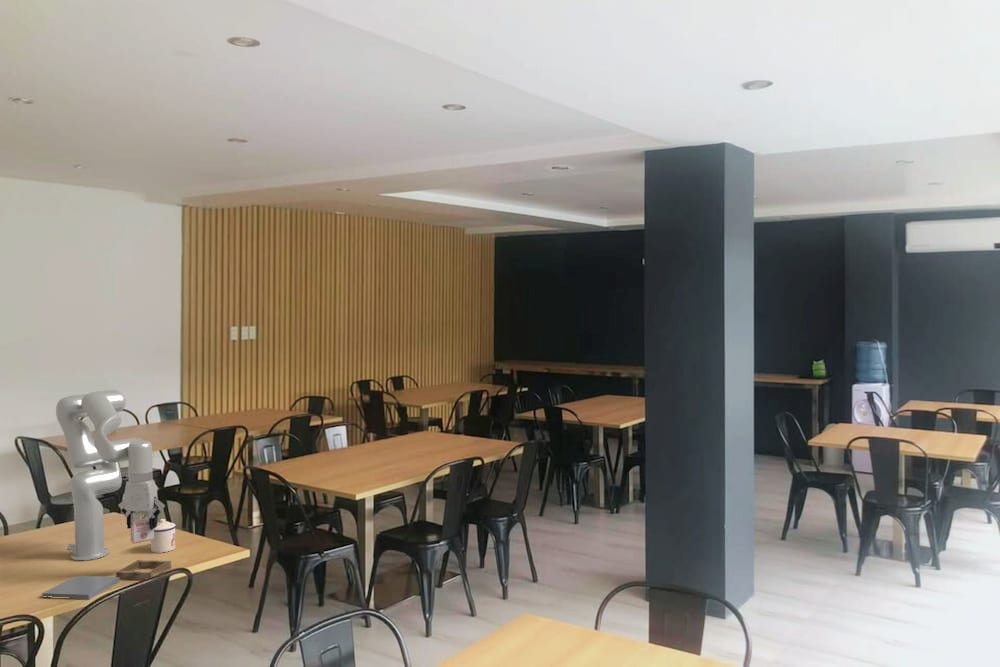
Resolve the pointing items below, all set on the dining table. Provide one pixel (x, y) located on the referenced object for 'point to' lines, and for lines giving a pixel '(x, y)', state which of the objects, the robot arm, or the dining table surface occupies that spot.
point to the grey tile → (82, 587)
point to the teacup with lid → (163, 537)
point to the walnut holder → (130, 571)
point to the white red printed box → (141, 527)
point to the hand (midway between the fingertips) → (142, 527)
